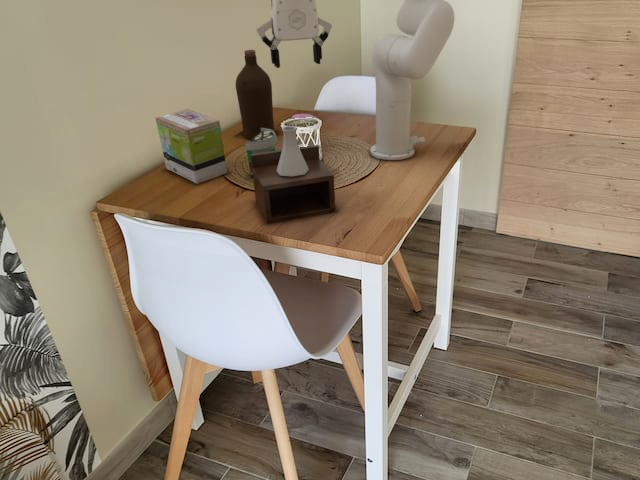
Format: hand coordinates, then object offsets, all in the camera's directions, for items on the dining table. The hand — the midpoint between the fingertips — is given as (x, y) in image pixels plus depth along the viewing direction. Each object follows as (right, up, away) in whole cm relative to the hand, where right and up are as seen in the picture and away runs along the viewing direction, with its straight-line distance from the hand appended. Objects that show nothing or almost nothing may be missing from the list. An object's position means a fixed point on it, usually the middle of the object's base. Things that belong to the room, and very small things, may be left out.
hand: (297, 64), depth 133 cm
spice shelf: (-1, -33, 0) cm, 33 cm away
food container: (-10, -22, +19) cm, 31 cm away
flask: (-1, -26, -5) cm, 26 cm away
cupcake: (-2, -12, +34) cm, 36 cm away
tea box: (-29, -22, +20) cm, 41 cm away
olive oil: (-17, -6, +45) cm, 48 cm away
